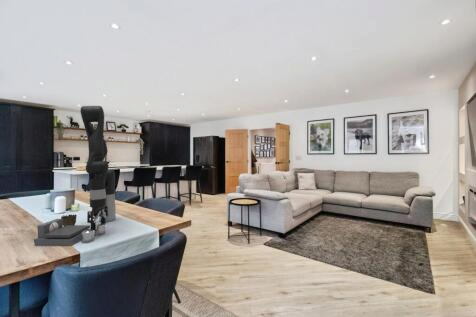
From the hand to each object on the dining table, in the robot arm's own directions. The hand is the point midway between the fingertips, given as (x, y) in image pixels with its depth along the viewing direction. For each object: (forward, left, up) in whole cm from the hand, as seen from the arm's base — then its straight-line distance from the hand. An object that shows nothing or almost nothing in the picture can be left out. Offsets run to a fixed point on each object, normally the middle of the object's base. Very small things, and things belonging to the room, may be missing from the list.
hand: (98, 227), depth 129 cm
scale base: (+7, -13, -4) cm, 15 cm away
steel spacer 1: (+9, 0, -4) cm, 10 cm away
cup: (-9, -23, -4) cm, 25 cm away
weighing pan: (+7, -11, 0) cm, 13 cm away
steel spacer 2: (-1, 0, -4) cm, 4 cm away
